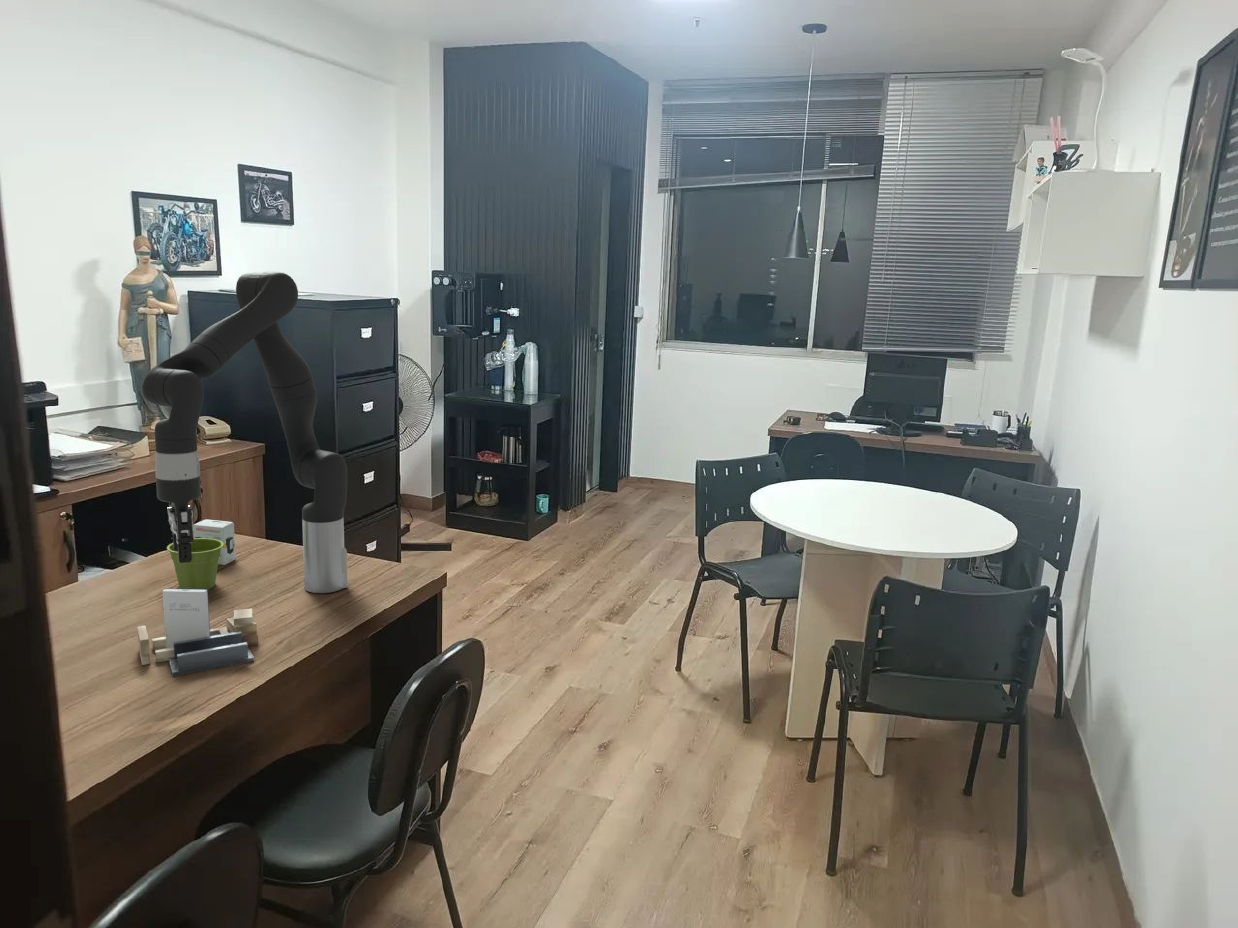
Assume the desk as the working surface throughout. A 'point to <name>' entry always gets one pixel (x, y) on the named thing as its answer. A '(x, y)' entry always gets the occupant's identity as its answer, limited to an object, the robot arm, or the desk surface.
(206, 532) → the ink box
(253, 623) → the offcut stack
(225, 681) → the desk surface
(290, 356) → the robot arm
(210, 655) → the stand
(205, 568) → the plant pot
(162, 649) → the frame
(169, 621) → the hard drive
